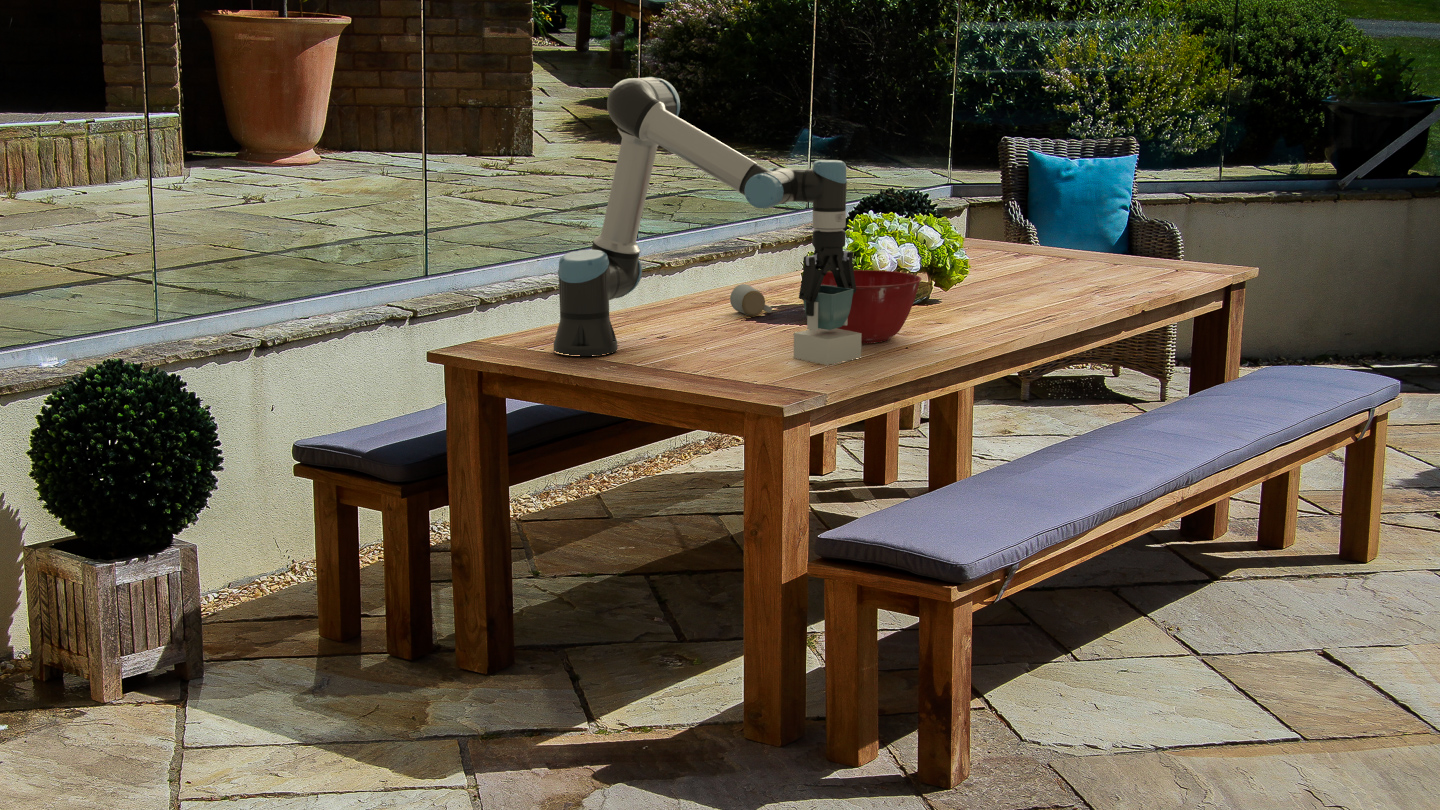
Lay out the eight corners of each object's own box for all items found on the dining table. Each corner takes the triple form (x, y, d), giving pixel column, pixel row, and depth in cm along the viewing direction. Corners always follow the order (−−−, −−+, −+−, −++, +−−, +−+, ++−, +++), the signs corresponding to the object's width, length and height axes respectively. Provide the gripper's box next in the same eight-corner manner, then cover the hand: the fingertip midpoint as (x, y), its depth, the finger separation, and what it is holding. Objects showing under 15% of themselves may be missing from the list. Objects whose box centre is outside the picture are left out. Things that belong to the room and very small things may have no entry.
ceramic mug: (742, 317, 386) (742, 289, 385) (729, 312, 394) (729, 284, 392) (777, 315, 391) (778, 287, 389) (764, 310, 398) (764, 282, 396)
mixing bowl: (786, 332, 366) (786, 272, 362) (887, 324, 375) (888, 265, 372) (833, 354, 340) (834, 288, 336) (940, 344, 350) (942, 281, 346)
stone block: (827, 365, 327) (827, 339, 326) (793, 357, 335) (793, 332, 334) (861, 358, 334) (861, 333, 333) (827, 351, 342) (827, 326, 341)
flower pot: (832, 333, 327) (833, 294, 325) (800, 328, 333) (801, 290, 330) (853, 327, 334) (854, 288, 332) (822, 322, 339) (822, 284, 337)
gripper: (806, 234, 318) (805, 335, 324) (874, 227, 332) (871, 323, 337) (782, 231, 324) (782, 330, 329) (850, 224, 337) (848, 319, 343)
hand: (827, 327), depth 333 cm, fingers closed on flower pot, 9 cm apart
